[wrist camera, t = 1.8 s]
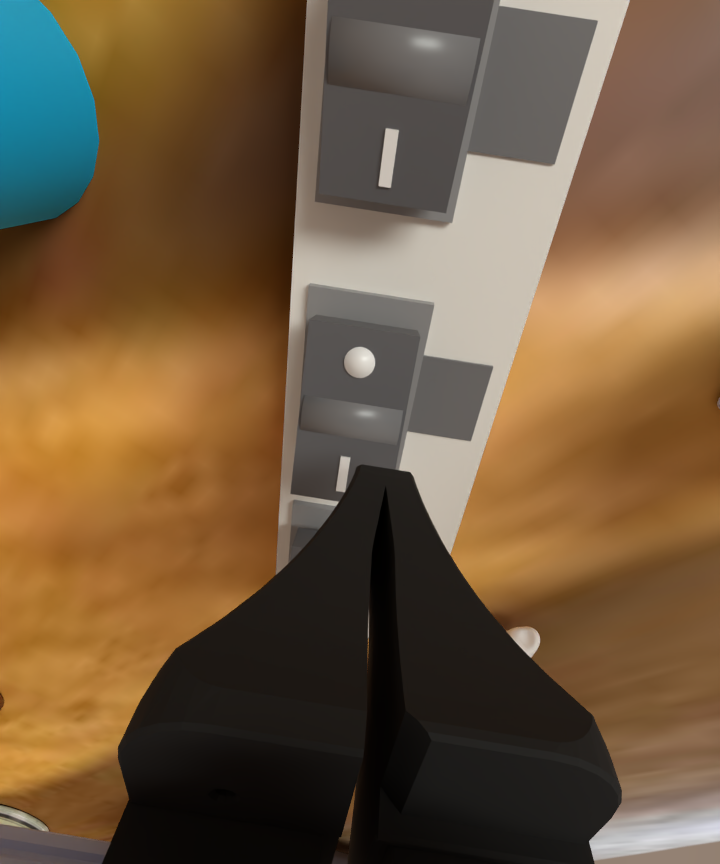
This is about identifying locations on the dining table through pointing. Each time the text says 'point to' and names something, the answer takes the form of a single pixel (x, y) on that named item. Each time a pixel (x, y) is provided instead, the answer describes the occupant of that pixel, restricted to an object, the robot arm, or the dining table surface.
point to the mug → (41, 117)
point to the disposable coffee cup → (1, 702)
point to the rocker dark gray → (350, 402)
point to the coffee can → (20, 819)
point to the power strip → (449, 244)
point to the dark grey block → (398, 97)
